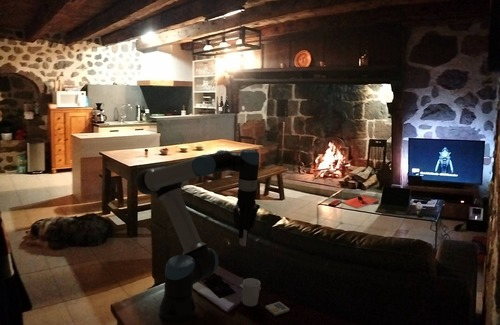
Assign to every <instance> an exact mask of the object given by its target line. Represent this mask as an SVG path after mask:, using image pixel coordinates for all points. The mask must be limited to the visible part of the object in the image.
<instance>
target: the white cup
mask: <svg viewBox="0 0 500 325" xmlns="http://www.w3.org/2000/svg"><path fill="white" fill-rule="evenodd" d="M242 284H243V290H242V304H243V305H244V306H246V307H255V306H257V305H258V301H259V296H260V291H261V290H260V287H261V281H260V280H259V279H257V278H252V277H250V278H245V279H243V281H242Z"/></svg>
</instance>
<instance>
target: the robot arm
mask: <svg viewBox="0 0 500 325" xmlns="http://www.w3.org/2000/svg"><path fill="white" fill-rule="evenodd" d="M260 163H261V162H260V152H259V151H257V150H255V149H242V150H241V151H240V153H238V152H234V151H229V150H227V149H226V150H222V149H220V150H219V149H218V150H217V151H216V152H215V153H210V154H209V153H208V154H201V155H199V156H196V157H195V158H192V159H188V160H185V161H182V162H179V163H175V164H172V165H162V166H157V167H152V168H146V169H143V170H141V171H140V172H138V174H136V176H135V179H134V180H135V181H134V183H135V187H136V190H137V191H138V192H139V193H141V194H143V195H145V196H152V195H156V197H157V198H158V200H159V201H162V202H163V205H164V206H165V209H166V212H167V213H168V216H169V218H170V221H171V223H172V226H173V228H174V230H175V232H176V234H177V237H178V240H179V242H180V244H181V247H182V248H183V251H182V254H180V255H179V254H177V255H173V256H172V257H170V258H169V259H168V260H167V262H166V265H165V269H164V295H163V298H162V300H161V301H160V305H159V306H158V307H159V308H158V309H159V310H158V313H159V316H160V318H162V319H163V320H165V321H167V322H168V321H169V322H172V323H173V322H174V323H180V322H185V321H188V320H191V319H192V318H193V317H194V316H195V315H196V312H197V311H196V307H197V306H196V302H195V300H194V296H193V291H194V290H193V288H194V285H195V284H197V283H200V282H201V281H203V280H204V279H206V278H209V277H211V276H212V275H213V274H215V273H216V271H217V270H218V266H219V257H218V254H217V253H216V251H215V250H213V248H209V247H208V244H207V243H205V242H203V241H202V240H201V238H200V237H201V236H200V234H199V233H198V230H197V228H196V225H195V224H194V221H193V219H192V216H191V215H190V212H189V210H188V209H189V208H188V207H187V205H186V203H185V201H184V198H183V195H182V190H183V187H182V185H183V183H184V182H186V181H189V180H194V179H197V178H200V177H201V178H202V177H206V176H210V175H213V174H214V175H215V174H217V173H221V172H223V173H224V172H227V171H231V172H235V173H238V182H237V183H238V185H237V188H238V189H237V194H236V197H237V198H236V199H237V201H236V204H235V205H234V206H231V207H230V210H231V212H232V217H233V224H234V229H236V230H238V238H239V240H238V241H239V243H238V244H239V245H240V246H242V247H246V246H247V238H248V237H249V232H250V231H251V229H253V228H254V224H255V222H256V221H255V220H256V218H257V214H258V211H259V209H260V208H261V205H260V204H258V203H256V199H257V192H258V191H257V189H258V179H259V178H258V177H259V176H258V175H259V167H260Z"/></svg>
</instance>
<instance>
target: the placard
mask: <svg viewBox="0 0 500 325" xmlns="http://www.w3.org/2000/svg"><path fill="white" fill-rule="evenodd" d="M265 309H266V310H267V311H268V312H270V313H271V314H272V315H274V316H280V315H282V314H285V313H288V312H290V311H291V310H290V308H289V307H288V306H286V305H285V304H284V303H282V302H281V301H277V302H275V303H274V302H273V303H270V304H267V305H265Z"/></svg>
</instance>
